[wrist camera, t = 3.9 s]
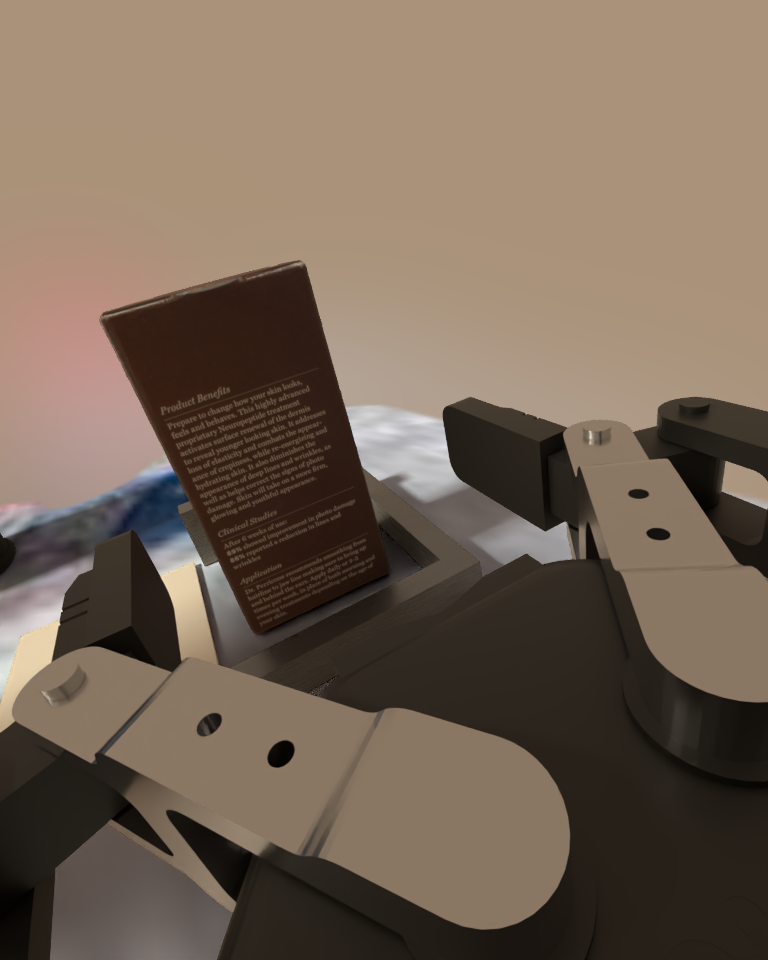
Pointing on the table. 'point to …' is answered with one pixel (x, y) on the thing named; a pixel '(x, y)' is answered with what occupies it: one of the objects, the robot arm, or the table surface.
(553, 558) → the table surface
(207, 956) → the table surface
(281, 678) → the open rectangular frame
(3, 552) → the aerosol can
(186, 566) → the pad
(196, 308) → the box
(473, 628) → the robot arm
